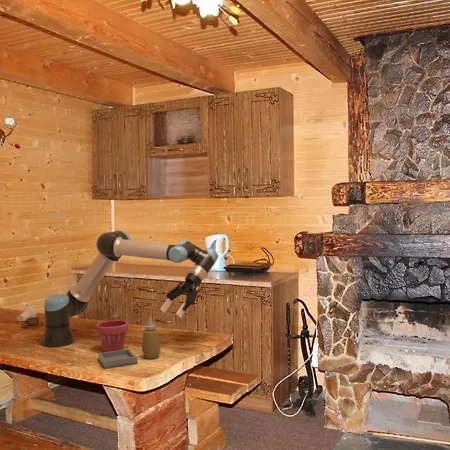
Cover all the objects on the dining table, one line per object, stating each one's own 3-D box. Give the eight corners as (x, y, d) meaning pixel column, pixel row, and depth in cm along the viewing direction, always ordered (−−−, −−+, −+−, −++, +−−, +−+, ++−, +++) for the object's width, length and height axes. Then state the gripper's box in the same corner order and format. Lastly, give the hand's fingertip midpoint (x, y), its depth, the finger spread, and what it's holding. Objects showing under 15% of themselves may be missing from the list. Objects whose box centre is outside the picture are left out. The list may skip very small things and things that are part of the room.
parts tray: (98, 359, 235) (98, 353, 235) (129, 355, 241) (129, 348, 240) (104, 368, 222) (104, 361, 222) (137, 363, 228) (137, 357, 228)
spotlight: (39, 316, 321) (34, 304, 319) (28, 324, 310) (24, 312, 308) (28, 318, 323) (23, 306, 321) (17, 326, 312) (12, 314, 311)
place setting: (39, 322, 313) (38, 312, 313) (62, 326, 302) (61, 315, 302) (13, 329, 298) (13, 318, 298) (37, 333, 287) (36, 322, 287)
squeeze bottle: (143, 355, 240) (141, 316, 239) (161, 354, 241) (159, 315, 240) (141, 360, 232) (140, 320, 231) (160, 359, 233) (158, 319, 232)
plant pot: (92, 353, 245) (90, 326, 244) (106, 345, 258) (105, 319, 258) (120, 355, 241) (119, 327, 240) (133, 346, 254) (132, 320, 254)
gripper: (216, 284, 242) (190, 322, 234) (185, 279, 262) (160, 314, 253) (206, 274, 239) (180, 312, 230) (176, 269, 258) (150, 304, 250)
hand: (170, 313), depth 242 cm, fingers open, 13 cm apart
